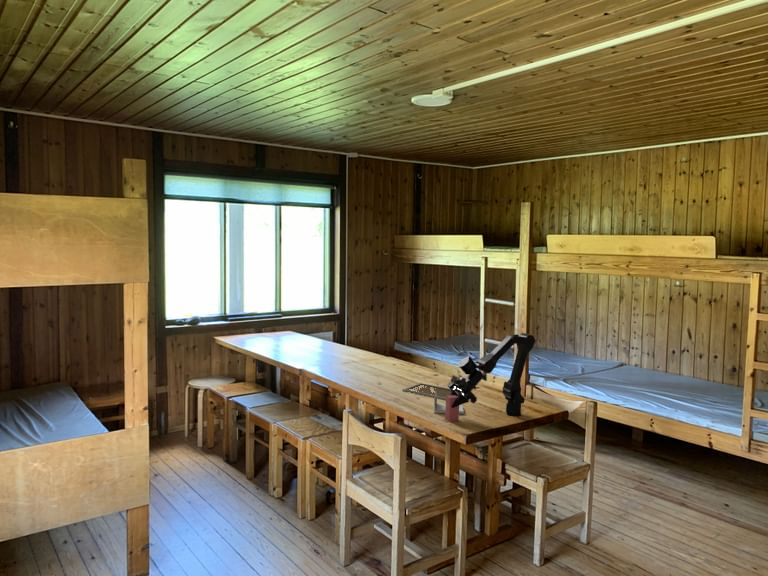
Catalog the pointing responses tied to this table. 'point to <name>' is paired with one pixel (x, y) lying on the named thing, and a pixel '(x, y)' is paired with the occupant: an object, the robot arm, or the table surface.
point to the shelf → (443, 406)
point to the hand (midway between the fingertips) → (449, 406)
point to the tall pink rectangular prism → (451, 409)
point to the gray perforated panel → (441, 391)
